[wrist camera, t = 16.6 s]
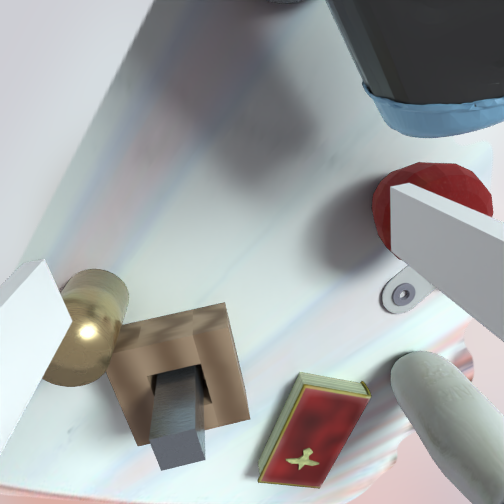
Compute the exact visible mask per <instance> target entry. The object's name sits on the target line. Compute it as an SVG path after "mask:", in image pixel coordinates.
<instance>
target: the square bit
mask: <svg viewBox="0 0 504 504" xmlns="http://www.w3.org/2000/svg"><path fill="white" fill-rule="evenodd" d="M149 441H150V444H151V446H152V449H153V451H154V454H155V456H156V459H157V461H158V464H159V466H160V469H161V471H162V470H166V469H170V468H174V467H178V466H182V465H186V464H190V463H194V462H198V461H203V460H205V429H204V394H203V373H202V369H201V366H200V364H197V365H193V366H188V367H184V368H180V369H175V370H171V371H167V372H162V373H158V375H157V382H156V390H155V397H154V405H153V412H152V420H151V427H150V435H149Z"/></svg>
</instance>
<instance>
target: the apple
mask: <svg viewBox="0 0 504 504" xmlns="http://www.w3.org/2000/svg"><path fill="white" fill-rule="evenodd" d="M406 183H411V184H413V185H415V186H418V187H420V188H423V189H425V190H427V191H430V192H432V193H435V194H437V195H439V196H442V197H444V198H447V199H449V200H451V201H454V202H456V203H458V204H461V205H463V206H466V207H468V208H470V209H473V210H475V211H478V212H480V213H482V214H485V215H487V216H490V217H492V215H493V206H492V197H491V194H490V192H489V191H488V190H487V188H486V187H485V186H484V185H483V183H482V182H481V181H480V180H479V179H478V178H477V176H476V175H475V174H474V173H473V172H472V171H470V170H468V169H466V168H464V167H461V166H459V165H457V164H449V163H423V162H418V163H415V164H413V165H410V166H407V167H405V168H402V169H399V170H396V171H393V172H391V173H390V174H388V175H387V176H386V177H385V178H384V179H383V180H382V181H381V182H380V183H379V185H378V187H377V188H376V190H375V192H374V194H373V199H372V212H373V217H374V221H375V225H376V229H377V232H378V235H379V237H380V238H381V240H382V242H383V243H384V245H385V246H386V248H388V249H389V250H390V251H391V209H390V187H392V186H396V185H401V184H406ZM392 253H393V252H392ZM393 254H394V253H393ZM394 255H395V254H394ZM395 256H396V255H395ZM396 257H397V258H398V259H400V258H399V257H398V256H396ZM400 260H401V259H400Z"/></svg>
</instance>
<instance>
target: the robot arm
mask: <svg viewBox="0 0 504 504" xmlns="http://www.w3.org/2000/svg"><path fill="white" fill-rule="evenodd" d="M266 1H270V2H275V3H293V2H298V1H302V0H266ZM325 1H326V3H327V5H328V7H329V9H330V11H331V13H332V15H333V18H334V20H335V22H336V24H337V26H338V28H339V30H340V33H341V35H342V37H343V39H344V41H345V43H346V45H347V48H348V50H349V52H350V54H351V56H352V58H353V60H354V62H355V65H356V67H357V69H358V71H359V73H360V75H361V77H362V80H363V82H362V85H363V87H364V90H365V92H366V93H367V94H368V95H369V96H370V97H371V98H372V99H373V101H374V103H375V104H376V106H377V108H378V110H379V112H380V114H381V116H382V118H383V119H384V121H385V122H386V123H387V125H388V126H389V127H390V128H392V129H394V130H397V131H398V132H400V133H401V134H403V135H407V136H411V137H418V138H438V137H447V136H454V135H460V134H464V133H468V132H472V131H477V130H480V129H484V128H487V127H490V126H492V125H495V124H498V123H501V122H503V121H504V0H325ZM390 209H391V252H393V253H394V254H395V255H396V256H398V257H399V258H400V259H401V260H403V261H404V262H405V263H406V264H407V265H409V266H410V267H411V268H412V269H414V270H415V271H416V272H417V273H419V274H420V275H421V276H422V277H424V278H425V279H426V280H427V281H429V282H430V283H431V284H432V285H434V286H435V287H436V288H437V289H439V290H440V291H441V292H442V293H443V294H445V295H446V296H447V297H448V298H450V299H451V300H452V301H453V302H455V303H456V304H457V305H458V306H460V307H461V308H462V309H463V310H465V311H466V312H467V313H468V314H470V315H471V316H472V317H473V318H475V319H476V320H477V321H478V322H479V323H481V324H482V325H483V326H485V327H486V328H487V329H488V330H489V331H491V332H492V333H493V334H495V335H496V336H497V337H498V338H499V339H501V340H502V341H503V342H504V222H501V221H499V220H497V219H494V218H492V217H490V216H487V215H485V214H482V213H480V212H478V211H475V210H473V209H470V208H468V207H466V206H463V205H461V204H458V203H456V202H454V201H451V200H449V199H447V198H444V197H442V196H439V195H437V194H435V193H432V192H430V191H427V190H425V189H423V188H420V187H418V186H415V185H413V184H411V183H406V184H401V185H396V186H392V187H390ZM71 323H72V319H71V317H70V315H69V312H68V310H67V308H66V306H65V303H64V301H63V299H62V297H61V294H60V292H59V290H58V288H57V285H56V283H55V281H54V279H53V276H52V274H51V272H50V270H49V267H48V265H47V263H46V261H45V259H41V260H36V261H31V262H27V263H23V264H22V265H21V266H20V267H19V268H18V269H17V270H16V271H15V272H14V273H13V274H12V275H11V276H10V277H9V278H8V279H7V280H6V281H5V282H4V283H3V284H2V285H1V286H0V455H1V453H2V452H3V450H4V448H5V446H6V444H7V442H8V440H9V438H10V437H11V435H12V433H13V431H14V429H15V427H16V425H17V424H18V422H19V420H20V418H21V416H22V414H23V412H24V411H25V409H26V407H27V405H28V403H29V401H30V399H31V397H32V396H33V394H34V392H35V390H36V388H37V386H38V384H39V383H40V381H41V379H42V377H43V375H44V373H45V371H46V370H47V368H48V366H49V364H50V362H51V360H52V358H53V357H54V355H55V353H56V351H57V349H58V347H59V345H60V343H61V342H62V340H63V338H64V336H65V334H66V332H67V330H68V329H69V327H70V325H71Z"/></svg>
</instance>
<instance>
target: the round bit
mask: <svg viewBox="0 0 504 504" xmlns="http://www.w3.org/2000/svg"><path fill="white" fill-rule="evenodd" d="M60 294H61V297H62V299H63V301H64V303H65V306H66V308H67V310H68V312H69V315H70V317H71V319H72V323H71V325H70V327H69V329H68V330H67V332H66V334H65V336H64V338H63V340H62V342H61V343H60V345H59V347H58V349H57V351H56V353H55V355H54V357H53V358H52V360H51V362H50V364H49V366H48V368H47V370H46V371H45V373H44V375H43V377H42V379H44V380H46V381H48V382H50V383H52V384H55V385H60V386H66V387H76V386H83V385H86V384H89V383H92V382H94V381H95V380H97V379H98V378H100V377H101V376H102V375H103V374H104V373H105V372H106V370H107V368H108V366H109V364H110V360H111V357H112V354H113V351H114V348H115V345H116V341H117V338H118V335H119V332H120V329H121V326H122V322H123V319H124V316H125V313H126V310H127V307H128V303H129V293H128V289H127V287H126V285H125V284H124V282H123V281H122V280H121V279H120V278H119V277H117V276H116V275H114V274H113V273H110V272H108V271H105V270H100V269H89V270H84V271H81V272H79V273H77V274H75V275H74V276H73V277H72V278H71V279H70V280H69V281H68V283H67V284H66V286H65V287H64V289H63V290H62V292H61V293H60Z"/></svg>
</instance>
